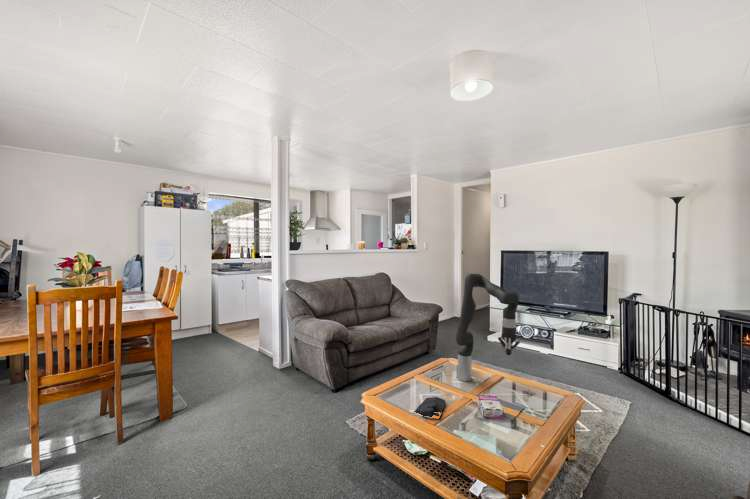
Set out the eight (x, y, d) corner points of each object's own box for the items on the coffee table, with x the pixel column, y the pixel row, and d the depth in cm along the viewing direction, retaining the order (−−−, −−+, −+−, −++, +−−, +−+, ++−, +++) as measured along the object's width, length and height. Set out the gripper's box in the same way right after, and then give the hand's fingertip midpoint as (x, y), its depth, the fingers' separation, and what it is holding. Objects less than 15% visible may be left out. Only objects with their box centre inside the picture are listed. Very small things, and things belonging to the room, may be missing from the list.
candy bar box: (476, 402, 192) (482, 417, 176) (476, 394, 192) (482, 408, 176) (496, 404, 191) (504, 418, 175) (496, 395, 191) (504, 409, 175)
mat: (485, 410, 184) (485, 409, 184) (498, 399, 197) (498, 398, 197) (512, 420, 174) (512, 419, 174) (524, 408, 187) (524, 407, 187)
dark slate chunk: (449, 404, 192) (450, 396, 192) (438, 422, 173) (438, 413, 172) (425, 398, 199) (425, 390, 199) (411, 415, 180) (411, 406, 180)
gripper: (495, 324, 194) (495, 353, 194) (518, 329, 184) (517, 359, 185) (500, 322, 199) (500, 350, 199) (522, 326, 190) (522, 356, 190)
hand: (508, 354), depth 192 cm, fingers closed
